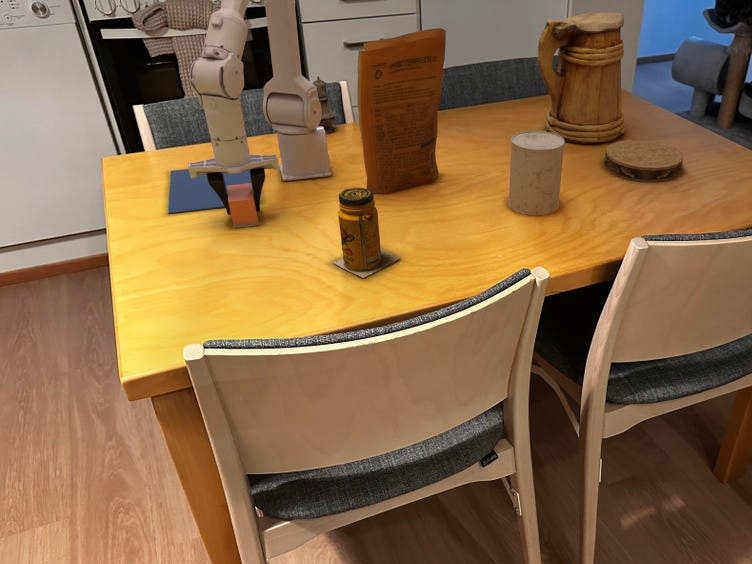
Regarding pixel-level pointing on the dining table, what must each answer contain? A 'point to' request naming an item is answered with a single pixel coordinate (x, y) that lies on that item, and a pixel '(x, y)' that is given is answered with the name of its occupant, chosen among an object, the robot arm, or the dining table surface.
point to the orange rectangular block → (242, 205)
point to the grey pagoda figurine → (324, 107)
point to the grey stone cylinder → (535, 172)
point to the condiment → (361, 233)
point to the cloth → (198, 191)
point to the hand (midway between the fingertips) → (243, 211)
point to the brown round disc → (643, 160)
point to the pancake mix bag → (400, 108)
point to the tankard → (584, 76)
